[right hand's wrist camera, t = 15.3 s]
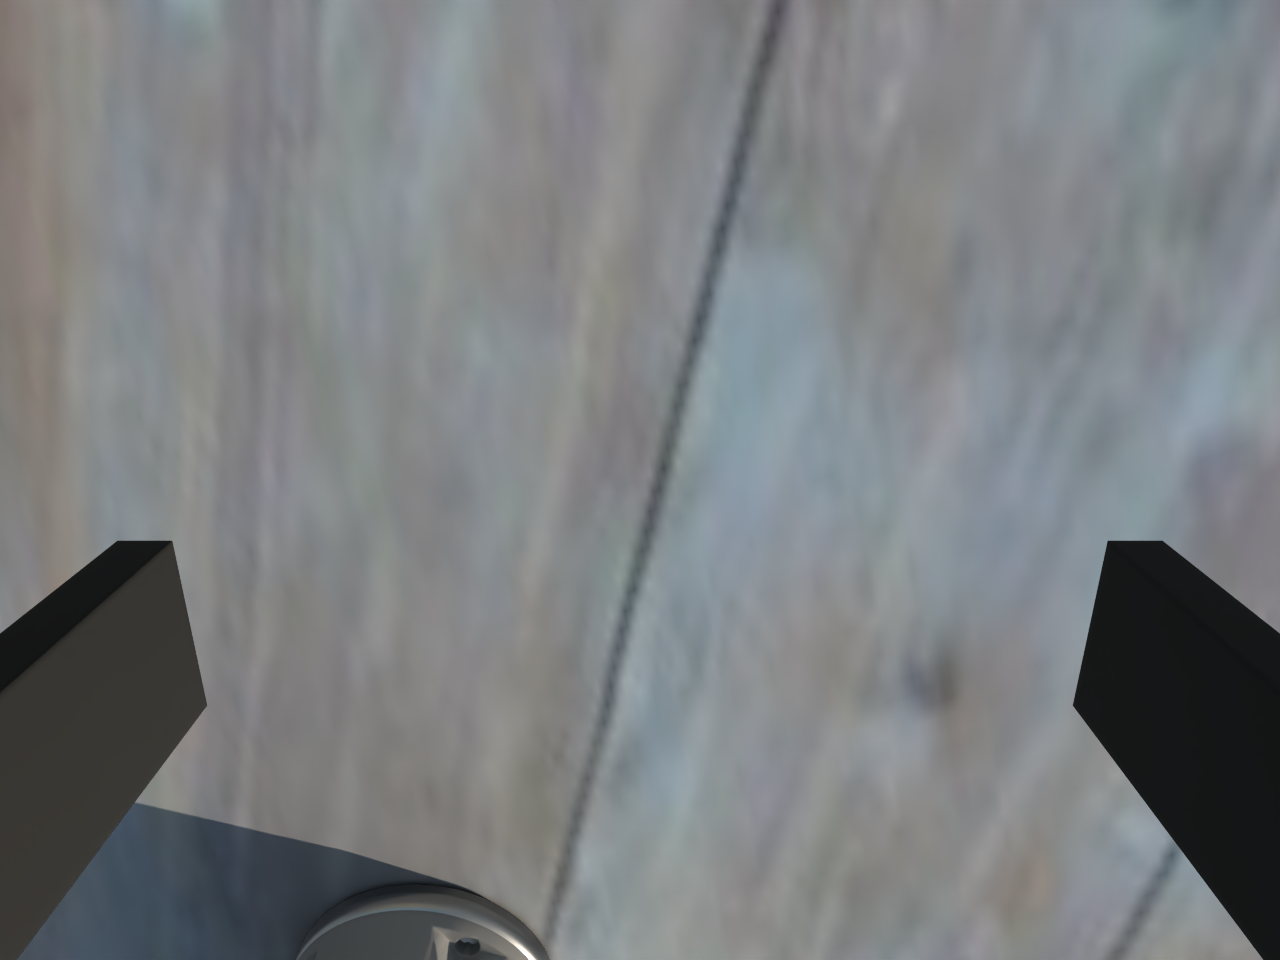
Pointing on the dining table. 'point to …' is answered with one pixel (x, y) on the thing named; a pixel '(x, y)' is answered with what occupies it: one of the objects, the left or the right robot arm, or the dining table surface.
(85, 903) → the dining table surface
